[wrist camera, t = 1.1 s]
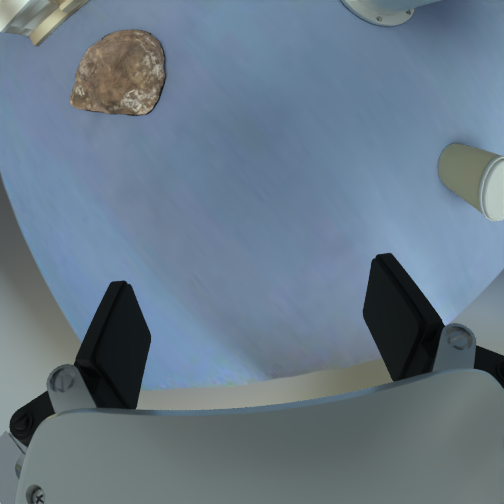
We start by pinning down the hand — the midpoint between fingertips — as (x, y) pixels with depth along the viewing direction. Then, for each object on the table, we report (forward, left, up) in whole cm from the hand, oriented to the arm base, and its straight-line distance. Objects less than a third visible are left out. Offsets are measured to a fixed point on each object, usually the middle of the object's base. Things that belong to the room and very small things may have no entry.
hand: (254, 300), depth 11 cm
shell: (+7, -17, -29) cm, 35 cm away
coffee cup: (-31, +16, -29) cm, 45 cm away
